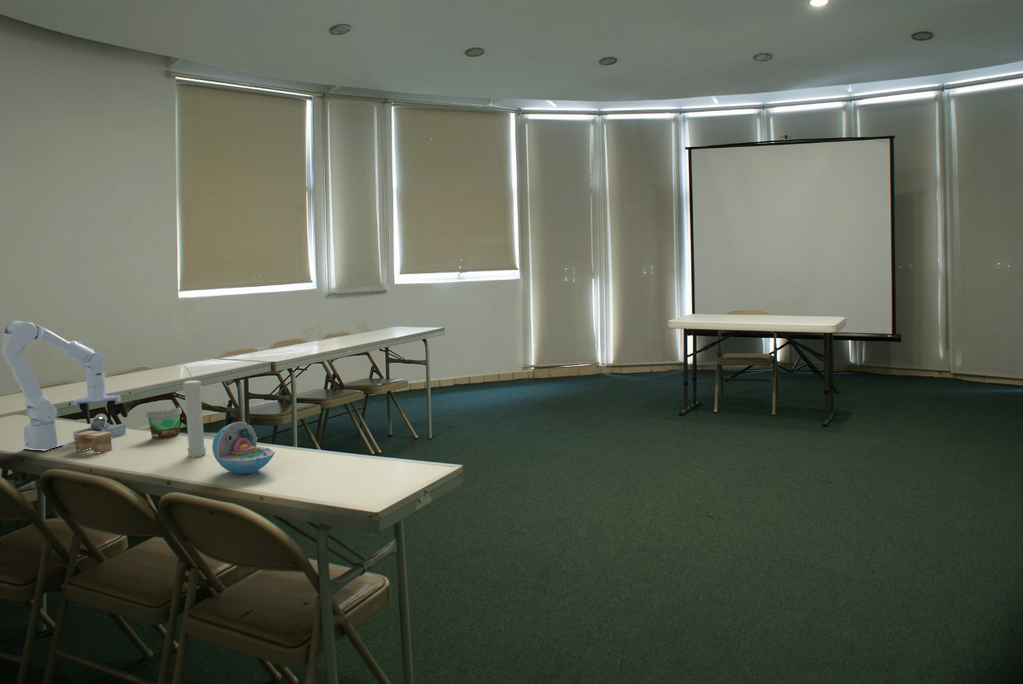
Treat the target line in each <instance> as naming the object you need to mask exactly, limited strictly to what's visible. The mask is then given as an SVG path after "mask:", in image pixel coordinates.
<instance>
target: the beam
mask: <svg viewBox="0 0 1023 684" xmlns="http://www.w3.org/2000/svg"><path fill="white" fill-rule="evenodd" d="M74 443H75V444H74V445H75V451H76V450H80V451H83V450H86V449H89V448H93V449H92V450H93V453H94V452H103V453H105V452H104V451H106V452H108V451H107V450H109V451H112V450H113V447H112V438H111V432H101V431H84V432H80V433H76V434H75V441H74ZM111 449H112V450H111Z"/></svg>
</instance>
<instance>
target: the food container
mask: <svg viewBox="0 0 1023 684" xmlns="http://www.w3.org/2000/svg"><path fill="white" fill-rule="evenodd" d="M181 414H182V408H181V407H180V405H177V407H176V408H172V409H162V410H158V411H147V412H146V418H147V419H148V422H149V423H148V424H149V428H150V434H151V438H152V439H153V438H156V439H155V440H163V439H164V438H166V439H171V437H172V438H176V437H178V436H179V435H180V423H181V420H180V419H181ZM178 434H179V435H178ZM177 435H178V436H177Z"/></svg>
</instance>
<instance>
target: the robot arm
mask: <svg viewBox="0 0 1023 684" xmlns="http://www.w3.org/2000/svg"><path fill="white" fill-rule="evenodd" d="M2 334H3V339H2V347H1V348H2V349H1V352H2V355H3V358H4V359H5V361H6V363H7V365H8V367H9V369H10V371H11V372H12V375H13V376H14V379H15V381H16V383H17V385H18V387H19V388H20V390H21V392H22V394H23V397H24V399H25V401H24V404H25V406H26V410H25V411H26V416H27V417H28V418H29V419H30V422H28V423H26V424H25V426H24V428H23V440H24V448H25V447H28V448H33V449H51V448H55V447H58V448H60V447H59V446H62V445H64V446H65V444H63V443H61V444H60V443H58V436H57V425H56V424H57V423H56V419H57V418H58V414H59V413H58V409H57V408H56V406H55V405H53V404H51V401H50V400H49V398H47V397H46V395H45V394H44V392H43V391H42V389H41V387H40V385H39V383H38V381H37V378H36V377H35V375H34V373H33V371H32V369H31V367H30V365H29V363H28V361H27V358H26V357H25V355H24V351H25V349H26V347H27V345H29V343H31V342H32V341H33V340H42V341H44V342H46V343H48V344H50V345H53V346H55V347H56V348H58V349H61V350H62V351H63V354H64V355H65V356H66V357H68V358H71V359H73V360H74V361H76V362H79V363H81V364H82V366H83V367H85V379H86V389H87V390H86V391H87V393H86V394H87V397H80V398H79V397H78V398H74V399H73V406H78V405H79V406H78V407H79V410H80V411H81V413H82V414H83V415H84V417H85V421H86V423H87V425H91V416H90V408H89V407H90V404H100V403H106V409H107V423H111V422H112V421H111V420H112V414H113V411H114V407H115V404H116V402H117V403H118V402H121V400H122V399H121V395H120V394H118V395H107V391H106V377H105V369H104V368H105V366H106V364H107V361H108V359H106V357H105V356H104V354H103V353H101V352H96V351H95V348H92V347H88V346H87V345H84V344H83V342H82V341H80V340H70V341H68V340H67V339H64V338H63V337H61V336H60V335H58V334H56V333H54V332H52V331H51V330H49V329H47V328H46V327H44V326H41V325H39V324H35V323H33V322H32V321H21V320H15V319H14V320H11V321H10V322H9V323H7V325H6V326H5V327H4V329H3V330H2ZM62 447H63V446H62ZM55 449H56V448H55ZM51 450H52V449H51Z"/></svg>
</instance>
